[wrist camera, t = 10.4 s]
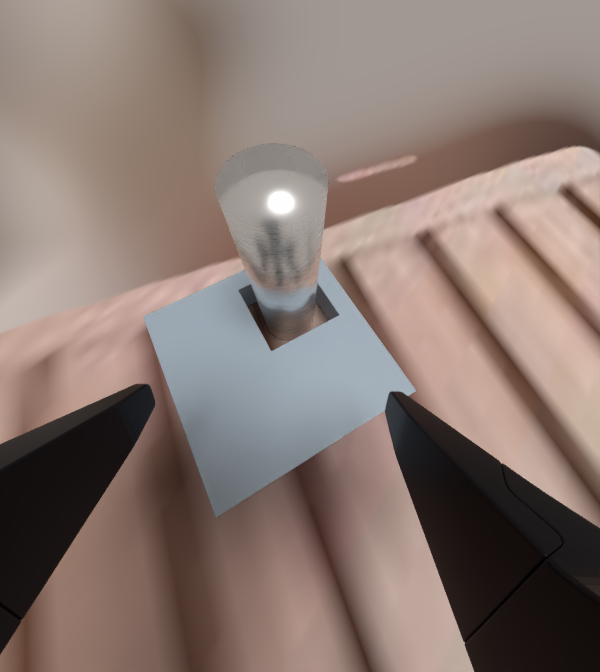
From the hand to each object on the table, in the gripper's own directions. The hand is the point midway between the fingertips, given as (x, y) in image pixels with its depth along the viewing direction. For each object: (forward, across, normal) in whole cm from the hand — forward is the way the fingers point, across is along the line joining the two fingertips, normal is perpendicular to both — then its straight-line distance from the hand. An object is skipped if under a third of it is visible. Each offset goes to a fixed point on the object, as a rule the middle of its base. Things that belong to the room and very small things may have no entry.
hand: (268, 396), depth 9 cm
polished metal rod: (+13, 0, +2) cm, 13 cm away
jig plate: (+10, +1, +5) cm, 11 cm away
